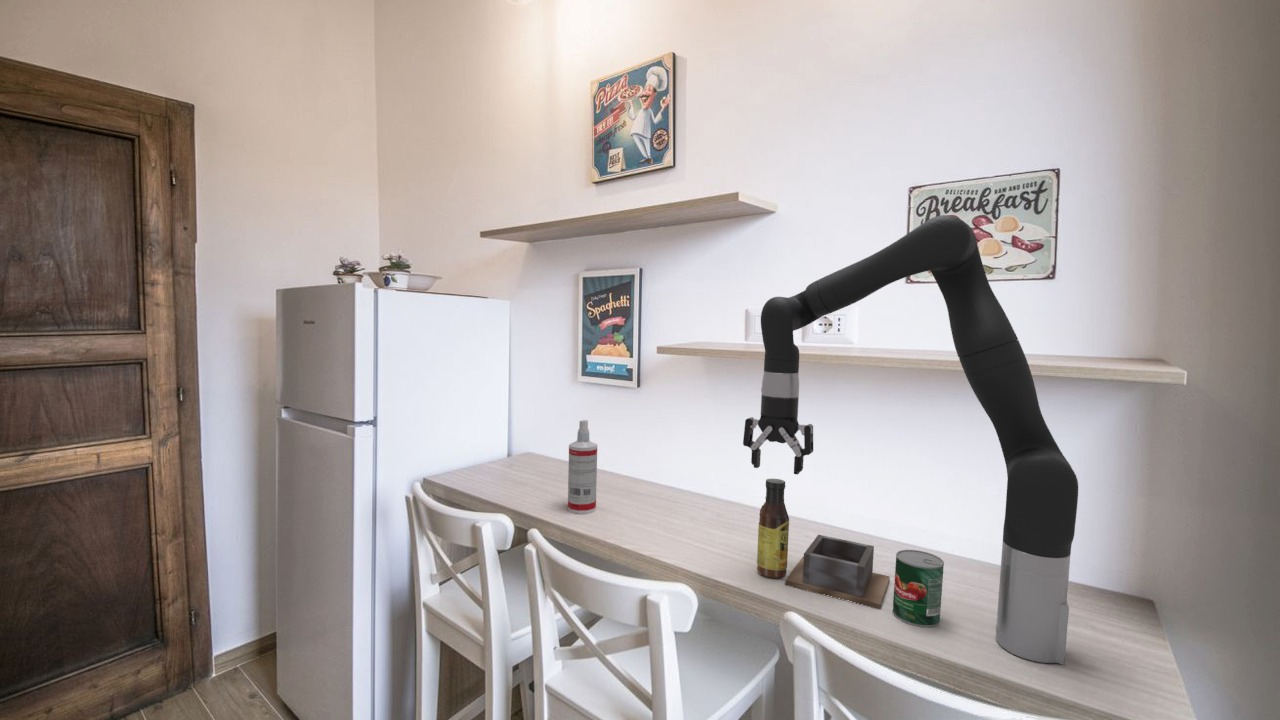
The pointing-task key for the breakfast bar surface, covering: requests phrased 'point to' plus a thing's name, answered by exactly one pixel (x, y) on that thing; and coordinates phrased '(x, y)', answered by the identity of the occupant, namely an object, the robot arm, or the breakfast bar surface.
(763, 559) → the sauce bottle
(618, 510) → the breakfast bar surface
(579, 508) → the spray bottle
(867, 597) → the bottle holder
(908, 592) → the canned tomato
